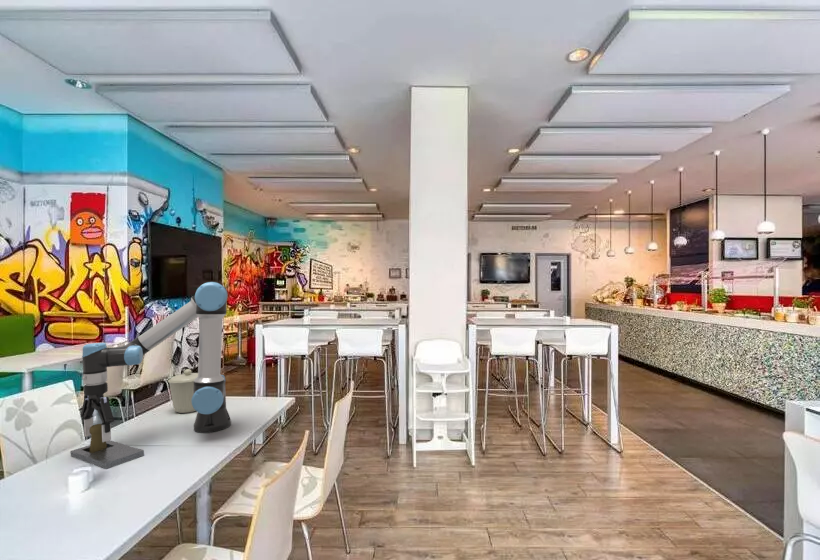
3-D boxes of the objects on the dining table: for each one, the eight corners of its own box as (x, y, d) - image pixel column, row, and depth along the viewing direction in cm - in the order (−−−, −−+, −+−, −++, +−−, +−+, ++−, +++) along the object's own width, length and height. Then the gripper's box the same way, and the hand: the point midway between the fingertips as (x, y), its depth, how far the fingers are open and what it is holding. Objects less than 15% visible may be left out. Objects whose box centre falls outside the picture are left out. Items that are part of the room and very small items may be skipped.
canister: (189, 416, 212) (188, 373, 212) (160, 414, 217) (158, 372, 217) (216, 406, 229) (214, 366, 230) (188, 404, 235) (187, 365, 235)
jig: (144, 455, 164) (143, 450, 164) (106, 469, 153) (105, 463, 153) (108, 444, 178) (107, 439, 178) (70, 456, 166) (70, 451, 166)
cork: (98, 456, 165) (96, 427, 165) (84, 455, 166) (83, 427, 167) (111, 450, 171) (110, 422, 171) (99, 449, 172) (98, 421, 172)
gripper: (69, 382, 172) (71, 436, 172) (101, 388, 159) (103, 446, 159) (90, 378, 178) (92, 430, 178) (123, 384, 166) (125, 439, 166)
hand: (97, 438), depth 169 cm, fingers open, 13 cm apart
